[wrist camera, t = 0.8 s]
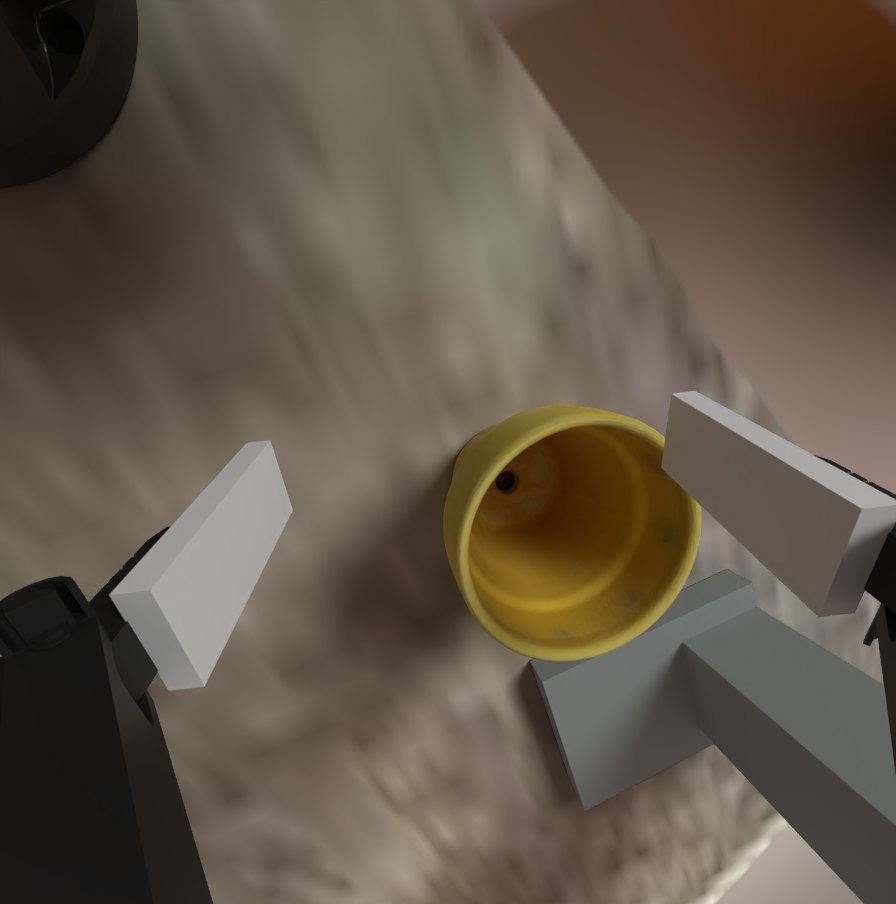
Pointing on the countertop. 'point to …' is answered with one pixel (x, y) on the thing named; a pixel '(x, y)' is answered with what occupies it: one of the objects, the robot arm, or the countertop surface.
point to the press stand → (738, 723)
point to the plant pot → (568, 531)
